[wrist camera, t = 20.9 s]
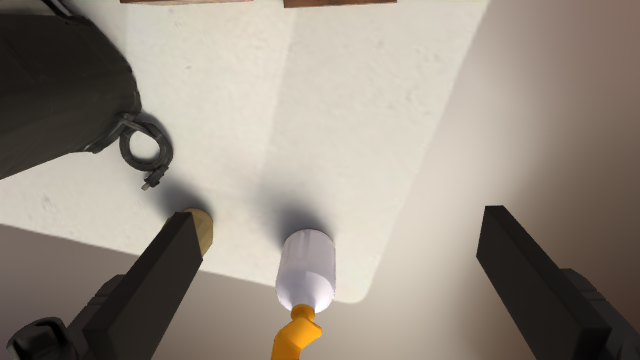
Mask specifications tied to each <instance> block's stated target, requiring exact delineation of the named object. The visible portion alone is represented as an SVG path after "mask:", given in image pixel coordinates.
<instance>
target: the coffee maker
mask: <svg viewBox="0 0 640 360" xmlns="http://www.w3.org/2000/svg"><path fill="white" fill-rule="evenodd" d="M141 107H142V106H141V103H140V95H139V92H137V91H136V82H135V80H134V78H133V76H132V71H131V69H130V67H129V66H128V65H127V64H126V62H125V61H124V60H123V58H122V57H121V56H120V55H119V53H118V52H117V51H116V50H115V49H114V47H113V46H112V45H111V44H110V43H109V41H108V40H107V39H106V38H105V37H104V35H103V34H102V33H101V32H100V31H98V29H97V28H96V27H95V25H94V24H93V23H92V22H91V21H90V20H88V19H87V18H85V17H83V16H78V15H74V14H73V13H71V11H70V10H69V9H68V8H67V7H66V5H64V4H63V3H62V2H61V1H60V0H0V180H1V179H4V178H6V177H9V176H11V175H14V174H17V173H19V172H21V171H24V170H27V169H29V168H32V167H34V166H37V165H39V164H42V163H45V162H47V161H50V160H52V159H55V158H57V157H60V156H63V155H65V154H68V153H74V152H92V153H93V154H96V153H98V152H100V151H102V150H103V149H104V148H106V147H107V146H109V145H110V144H111V143H113V142H114V141H115V140H117V139H118V137H120V142H119V146H120V151H121V154H122V157H123V158H124V159H125V161H126V162H127V163H128V164H129V165H130V166H132V167H133V168H135V169H137V170H140V171H144V172H150V171H153V172H152V174H151V175H150V176H149V177H148V178H146V179H144V181H145V182H146V184H144V185H143V186H142V188H141V189H143V190H144V191H145V190H147V189H148V188H149V187H152V188H153V187H155V186H157V185H158V184H159V183H160V181H159V180H160V178H161V177H162V176H164V172H165V171H166V170H167V169H169V167H168V165H169V164H170V162H171V161H172V158H173V151H172V147H171V145H170V143H169V141H168V140H167V138H166V137H165V136H164V135H163V133H162V132H161V131H160V130H159V129H158V128H157V127H156V126H155V125H153V124H151V123H148V122H142V121H139V122H134V120H135V118H136V117H137V116H138V114H140V113H141V112H140V111H141ZM138 130H139V131H141V132H143V133H145V134H147V135H148V136H150V137H152V138H153V139H155V140H156V142H157V143H158V144H159V147H160V155H159V158H158V159H157V160H156V161H155V162H154V163H152V164H143V163H141V162H138V161H136V160H135V159H134V158H133V157H132V156H131V154H130V150H129V140H130V137H131V135H132V134H133V133H134V132H136V131H138Z"/></svg>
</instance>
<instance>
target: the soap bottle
mask: <svg viewBox="0 0 640 360" xmlns="http://www.w3.org/2000/svg"><path fill="white" fill-rule="evenodd" d="M335 289H336V258H335V247H334V244H333V242H332V241H331V239H330V238H329V237H328V236H327V235H325V234H324V233H322V232H320V231H317V230H313V229H305V230H300V231H297V232H295V233H293V234H292V235H291V236H290V237H288V238H287V240H286V242H285V244H284V246H283V251H282V256H281V260H280V265H279V270H278V274H277V279H276V293H277V296H278V298H279V301H280V303H281V304H282V305H283V306H284V307H285V308H287V309H288V310H290V311H291V318H292V320H293V321H291V322H290V323H289V324H287V325H286V326H285V327H283V328H282V329H281V330H280V331H279V332H278V333H277V335H276V337H275V339H274V344H273V349H272V355H271V360H299V355H300V352H301V350H302V349H303V348H304V347H305V346H306V345H308V344H309V343H311V342H312V341H313V340H315V339H316V338H318V337H319V336H321V334H322V329H321V328H320V327H319V326H318V325H316V324H315V323H313V322H312V321H313V320H314V317H315V313H317V312H320V311H322V310H324V309H325V308H326V307H328V306H329V304H330V302H331V301H332V299H333V298H334V296H335Z"/></svg>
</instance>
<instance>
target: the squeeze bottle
mask: <svg viewBox="0 0 640 360" xmlns="http://www.w3.org/2000/svg"><path fill="white" fill-rule="evenodd" d="M181 212H192V215H193V219H194V223H195V228H196V232H197V236H198V241H199V245H200V249H201V254H202V257H203V256H204V254H205V253H206V252H207V250H208V249H209V247H210V246H211V245H212V241H213V223H212V220H211V218H210V216H209V215H208V214H207V213H206V212H204V211H202V210H200V209H196V208H190V209H186V210H183V211H181ZM171 217H172V216H171ZM171 217H170V218H171ZM170 218H168V219H167V221H166V222H165V224H166V223H167V222H168V221H169V219H170ZM165 224H164V226H165ZM164 226H163V227H164ZM163 227H162V228H163ZM161 230H162V229H161Z"/></svg>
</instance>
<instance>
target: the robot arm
mask: <svg viewBox="0 0 640 360" xmlns="http://www.w3.org/2000/svg"><path fill="white" fill-rule="evenodd" d="M476 257H477V259H478V261H479V262H480V264H481V266H482V267H483V269H484V271H485V273H486V274H487V276H488V278H489V279H490V281H491V283H492V285H493V286H494V288H495V290H496V291H497V293H498V295H499V296H500V298H501V300H502V302H503V303H504V305H505V307H506V308H507V310H508V312H509V313H510V315H511V317H512V318H513V320H514V322H515V324H516V325H517V327H518V329H519V330H520V332H521V334H522V335H523V337H524V339H525V341H526V342H527V344H528V345H529V347H530V349H531V351H532V352H533V354H534V356H535V357H536V359H537V360H640V334H639V333H638V332H637V331H636V330H635V329H634V328H633V327H632V326H631V325H630V324H629V323H628V322H627V321H626V319H624V317H623V316H622V315H621V314H620V313H619V312H618V311H617V310H616V309H615V308H614V307H613V306H612V305H611V304H610V303H609V302H608V301H606V299H605V298H604V296H603V295H602V294H601V293H599V292H597V289H596V288H595V287H594V286H593V285H592V284H591V283H590V282H589V281H588V280H587V279H586V278H585V277H583V276H582V275H580V274H578V273H577V272H575V271H574V270H572V269H559V268H558V266H557V265H556V264H555V263H554V262H553V261H552V260H551V259H550V258H549V256H548V255H547V254H546V253H545V252H544V251H543V250H542V248H541V247H540V246H539V245H538V244H537V243H536V242H535V241H534V239H533V238H532V237H531V236H530V235H529V234H528V233H527V232H526V230H525V229H524V228H523V227H522V226H521V225H520V224H519V223H518V221H516V219H515V218H514V217H513V216H512V215H511V214H510V212H509V211H508V210H507V209H506V208H505V207H504V206H503V205H501V206H485V211H484V216H483V222H482V227H481V233H480V238H479V244H478V249H477V254H476ZM202 261H203V258H202V254H201V249H200V245H199V241H198V236H197V232H196V228H195V223H194V219H193V215H192V212H175V213H174V214H173V216H172V217H171V218H170V219H169V221H168V222H167V223H166V224H165V226H164V227H163V228H162V230H161V231H160V232H159V233H158V235H157V236H156V237H155V238H154V240H153V241H152V242H151V243H150V245H149V246H148V247H147V248H146V250H145V251H144V252H143V253H142V255H141V256H140V257H139V259H138V260H137V261H136V262H135V263H134V265H133V266H132V267H131V269H130V270H129V271H128V272H127V273H126V274H124V275H116V276H114V277H113V278H112V279H110V280H109V281H107V282H106V283H105V284H104V285H103V286H102V287H101V289H99V290H98V292H97V293H96V294H95V297H93V298H92V299H91V300H90V301H89V302H88V304H87V306H85V307H84V308H83V309H82V311H81V312H80V313H79V314H78V315H77V317H76V318H75V319H74V320H73V321H72V323H70V325H69V326H68V327H67V328H66V327H65V325H64V323H63V321H62V320H61V319H60V318H57V317H47V318H42V319H40V320H36V321H34V322H32V323H30V324H28V325H26V326H24V327H23V328H22V329H20V330H19V331H18V332H16V333H15V334H14V335H13V336H12V338H11V339H10V340H9V341H8V344H7V347H6V349H7V350H8V352H9V354H10V355H11V357H12V359H13V360H151V358H152V356H153V354H154V352H155V350H156V348H157V346H158V345H159V343H160V341H161V339H162V337H163V335H164V333H165V331H166V329H167V328H168V326H169V324H170V322H171V320H172V318H173V316H174V314H175V312H176V311H177V309H178V307H179V305H180V303H181V301H182V299H183V297H184V295H185V293H186V292H187V290H188V288H189V286H190V284H191V282H192V280H193V278H194V276H195V274H196V273H197V271H198V269H199V267H200V265H201V263H202Z"/></svg>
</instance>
